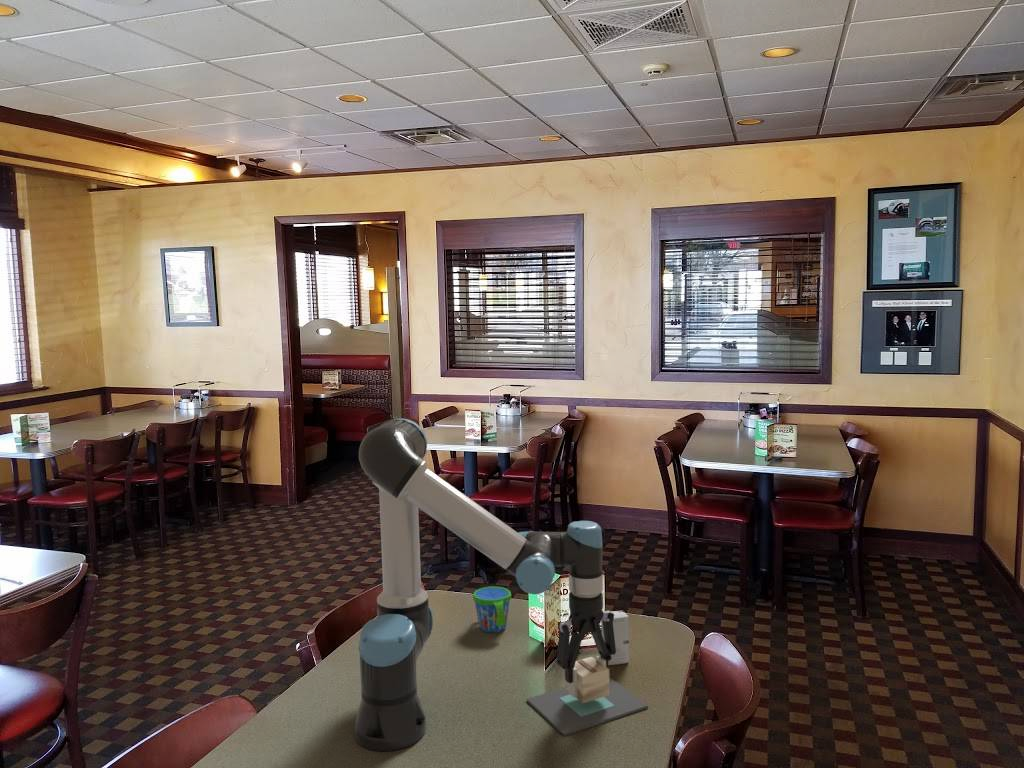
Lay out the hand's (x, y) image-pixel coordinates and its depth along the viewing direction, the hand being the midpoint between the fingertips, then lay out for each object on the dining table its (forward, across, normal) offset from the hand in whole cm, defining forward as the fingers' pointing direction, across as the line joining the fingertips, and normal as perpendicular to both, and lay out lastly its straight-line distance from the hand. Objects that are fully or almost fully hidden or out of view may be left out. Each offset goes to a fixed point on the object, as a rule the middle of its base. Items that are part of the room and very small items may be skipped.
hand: (587, 690), depth 168 cm
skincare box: (+4, -18, -14) cm, 23 cm away
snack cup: (+3, 0, -47) cm, 47 cm away
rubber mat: (+3, 0, 0) cm, 3 cm away
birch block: (0, 0, 0) cm, 0 cm away
